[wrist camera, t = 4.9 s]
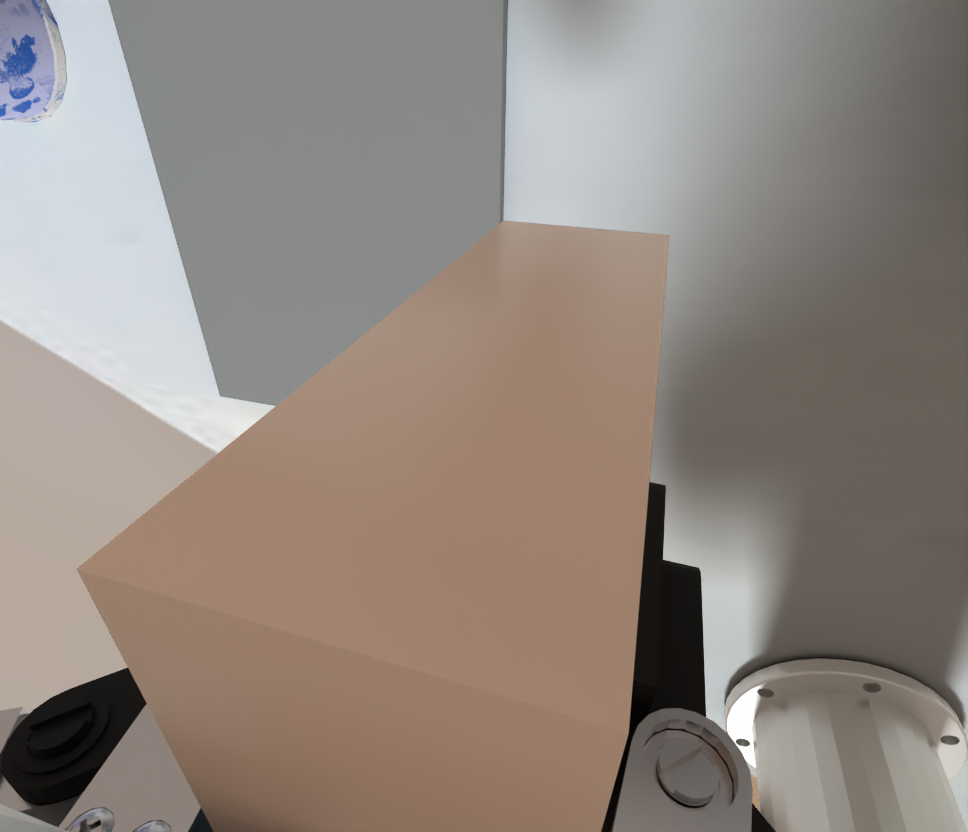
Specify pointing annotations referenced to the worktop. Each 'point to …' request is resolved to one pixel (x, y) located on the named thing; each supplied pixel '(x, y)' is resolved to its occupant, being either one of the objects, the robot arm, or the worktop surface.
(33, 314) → the worktop surface
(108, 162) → the worktop surface
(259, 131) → the mat
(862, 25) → the worktop surface
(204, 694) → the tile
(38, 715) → the robot arm
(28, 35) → the aerosol can
